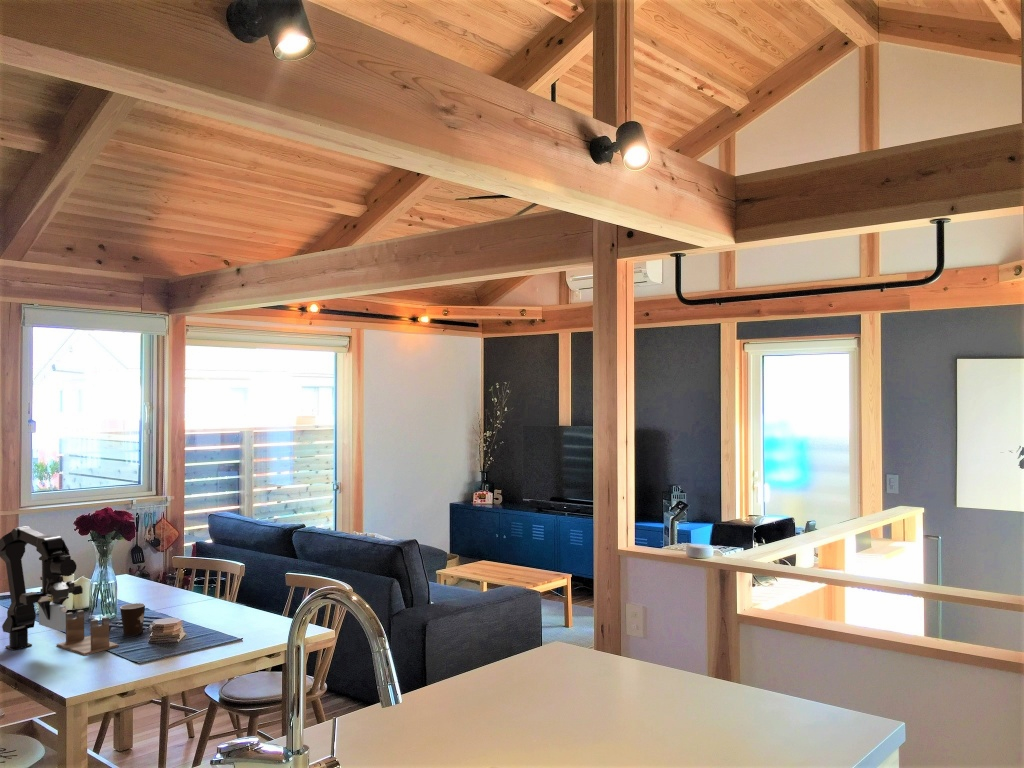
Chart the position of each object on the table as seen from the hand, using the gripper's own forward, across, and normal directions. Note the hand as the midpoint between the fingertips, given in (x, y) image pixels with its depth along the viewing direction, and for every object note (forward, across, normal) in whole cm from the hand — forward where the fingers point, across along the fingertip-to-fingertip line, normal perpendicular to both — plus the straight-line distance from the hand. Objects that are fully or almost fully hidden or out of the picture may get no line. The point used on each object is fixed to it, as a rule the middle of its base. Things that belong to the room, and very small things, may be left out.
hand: (52, 619), depth 287 cm
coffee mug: (+13, +32, +3) cm, 35 cm away
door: (+3, 0, 0) cm, 3 cm away
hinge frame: (+12, +12, 0) cm, 17 cm away
